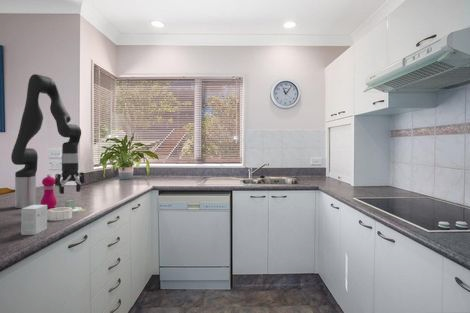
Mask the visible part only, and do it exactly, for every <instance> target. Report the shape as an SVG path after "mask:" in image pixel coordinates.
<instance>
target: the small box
mask: <svg viewBox="0 0 470 313" xmlns="http://www.w3.org/2000/svg"><path fill="white" fill-rule="evenodd" d="M20 209H21V210H20V212H21V214H20V216H21V219H20V220H21V221H20V226H21V227H20V228H21V229H20V230H21V231H20V234H21V236H22V235H23V236H27V235H29V236H33V235H34V236H35V235H38V234H40V233H42V232H43V231H45V230H47V229H48V220H47V205H41V204H35V205H31V206H28V207H25V208H20Z"/></svg>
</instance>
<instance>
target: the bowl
mask: <svg viewBox="0 0 470 313" xmlns="http://www.w3.org/2000/svg"><path fill="white" fill-rule="evenodd" d="M71 218H73V213H72V208H70V207H65V206H61V207H59V206H58V207H56V208H52V209H49V210H47V221H55V222H56V221H63V220H64V221H65V220H70V219H71Z"/></svg>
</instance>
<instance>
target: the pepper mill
mask: <svg viewBox="0 0 470 313" xmlns="http://www.w3.org/2000/svg"><path fill="white" fill-rule="evenodd" d="M41 183H42V185H43V186H42V187H43V188H42V189H43V196H42V198H41V200H40V205H47V210H49V209H52V208H57V207H56V205H57V203H58V201H57V198H56V196H55V193H54V190H55V178H54V177H52V175H51V174H50V173H47V175H46V177H44V178H43V179H42V181H41Z"/></svg>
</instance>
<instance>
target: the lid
mask: <svg viewBox="0 0 470 313" xmlns="http://www.w3.org/2000/svg"><path fill="white" fill-rule="evenodd" d="M75 202H76V201H75V199H70V200H64V207H70V208H72V214H75V213H74V212H76V213H79V211H81V212H83V211H82V209H83V207H81V206H76V204H75Z"/></svg>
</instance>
